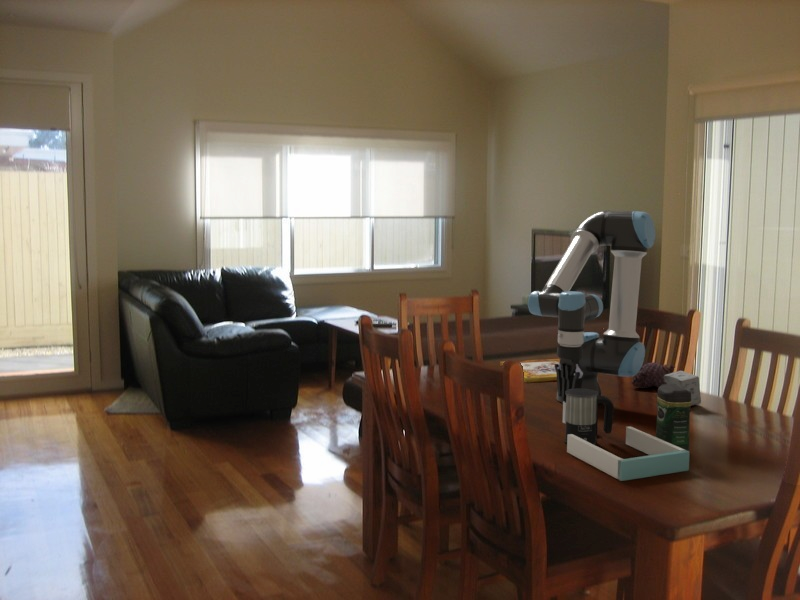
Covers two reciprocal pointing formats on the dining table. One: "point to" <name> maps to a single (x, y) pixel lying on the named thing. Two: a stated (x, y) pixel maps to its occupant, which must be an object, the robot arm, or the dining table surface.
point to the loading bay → (656, 463)
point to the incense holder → (686, 384)
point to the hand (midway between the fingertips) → (567, 422)
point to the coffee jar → (673, 415)
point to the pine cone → (651, 375)
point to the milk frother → (586, 414)
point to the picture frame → (539, 370)
